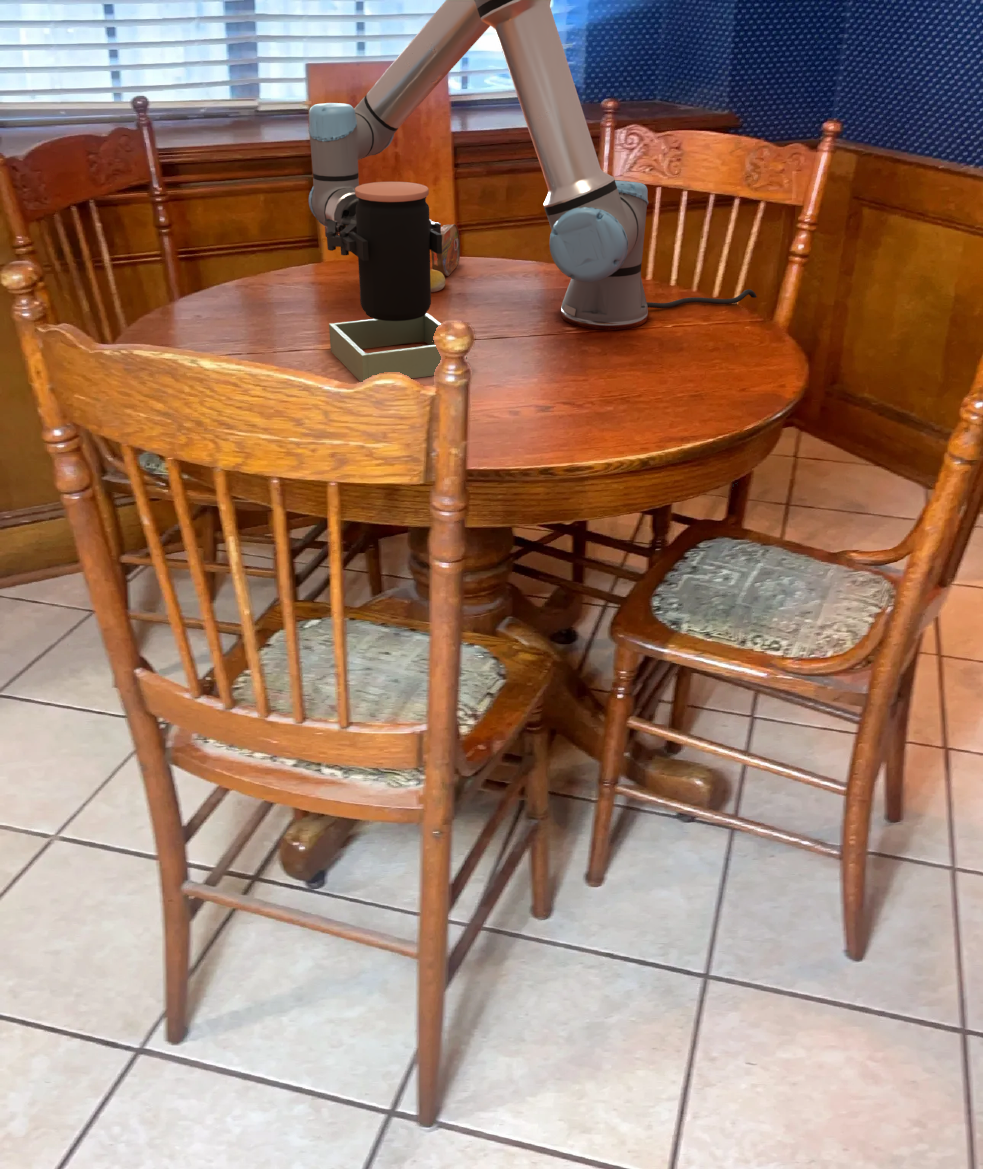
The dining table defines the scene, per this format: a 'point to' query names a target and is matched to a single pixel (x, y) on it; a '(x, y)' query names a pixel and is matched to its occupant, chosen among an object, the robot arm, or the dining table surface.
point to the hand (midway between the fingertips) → (403, 247)
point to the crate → (386, 333)
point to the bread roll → (436, 280)
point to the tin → (447, 251)
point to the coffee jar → (394, 250)
